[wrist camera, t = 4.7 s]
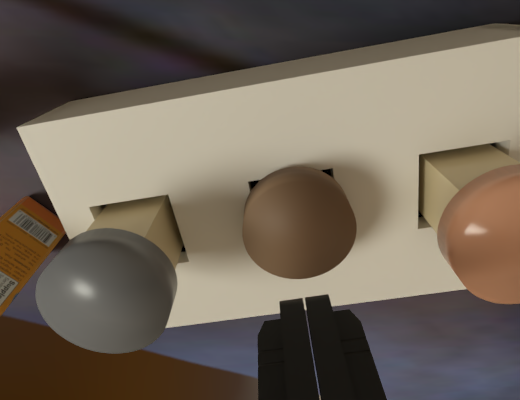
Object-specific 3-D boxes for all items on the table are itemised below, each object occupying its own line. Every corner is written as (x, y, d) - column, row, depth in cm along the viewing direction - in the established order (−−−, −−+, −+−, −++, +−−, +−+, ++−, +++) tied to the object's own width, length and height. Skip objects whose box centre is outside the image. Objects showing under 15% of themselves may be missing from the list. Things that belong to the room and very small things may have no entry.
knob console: (140, 277, 26) (114, 334, 21) (69, 101, 20) (16, 127, 16) (475, 230, 24) (524, 281, 19) (494, 23, 19) (568, 28, 14)
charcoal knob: (120, 263, 21) (67, 359, 15) (87, 185, 19) (12, 263, 13) (205, 251, 21) (183, 345, 15) (182, 170, 18) (145, 243, 13)
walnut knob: (255, 216, 23) (253, 285, 17) (239, 141, 21) (231, 191, 15) (335, 204, 23) (359, 271, 17) (327, 126, 20) (353, 172, 15)
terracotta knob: (397, 223, 20) (452, 312, 14) (396, 135, 18) (460, 196, 12) (493, 209, 19) (590, 294, 14) (504, 117, 17) (624, 172, 11)
